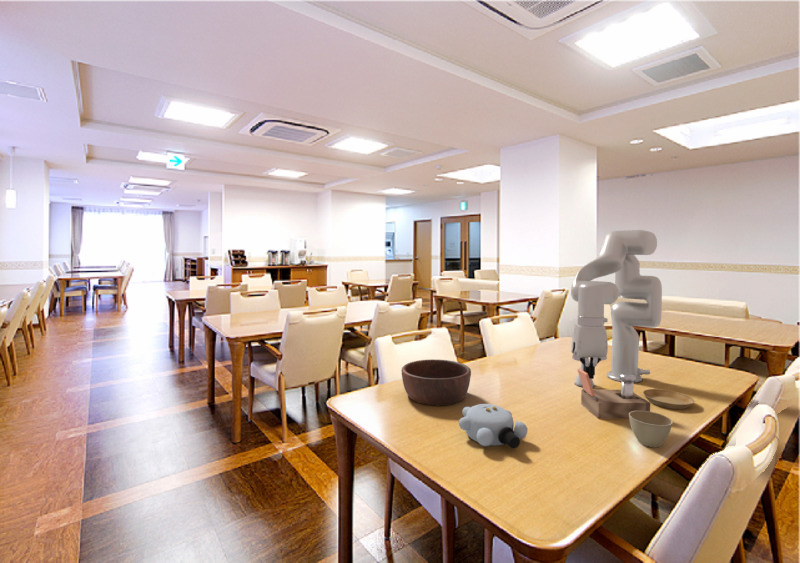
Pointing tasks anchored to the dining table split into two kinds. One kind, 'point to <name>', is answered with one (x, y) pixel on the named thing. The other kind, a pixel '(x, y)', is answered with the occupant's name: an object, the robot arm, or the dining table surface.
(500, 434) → the figurine
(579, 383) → the flask
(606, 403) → the block
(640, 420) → the beige bowl
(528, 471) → the dining table surface
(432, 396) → the wooden bowl
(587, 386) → the plate
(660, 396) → the plant saucer
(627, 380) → the pin
